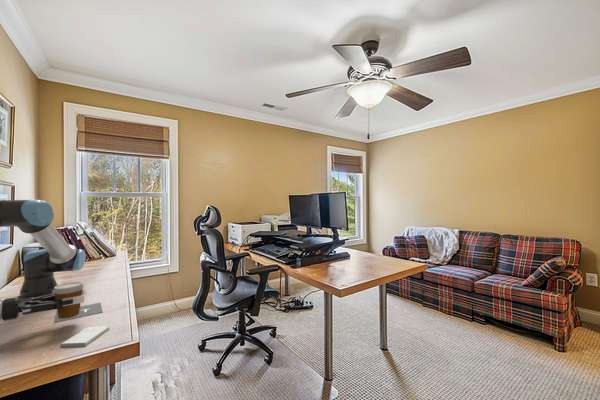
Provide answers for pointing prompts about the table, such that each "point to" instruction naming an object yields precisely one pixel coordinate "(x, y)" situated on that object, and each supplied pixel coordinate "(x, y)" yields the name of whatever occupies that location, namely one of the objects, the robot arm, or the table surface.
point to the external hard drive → (85, 336)
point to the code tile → (83, 312)
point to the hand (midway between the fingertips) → (83, 295)
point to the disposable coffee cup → (67, 292)
